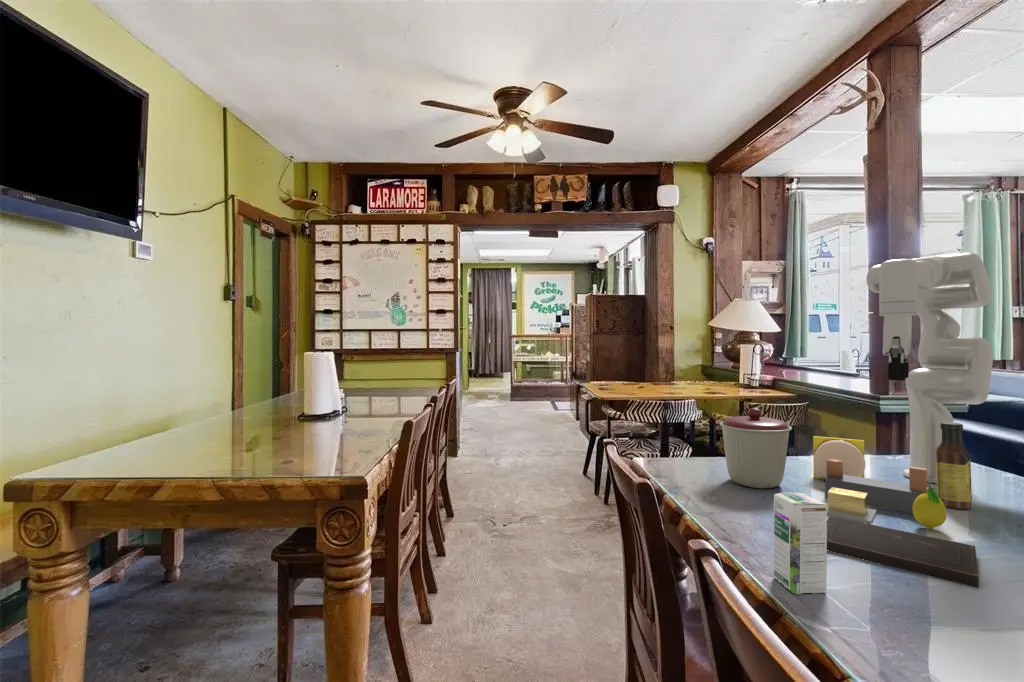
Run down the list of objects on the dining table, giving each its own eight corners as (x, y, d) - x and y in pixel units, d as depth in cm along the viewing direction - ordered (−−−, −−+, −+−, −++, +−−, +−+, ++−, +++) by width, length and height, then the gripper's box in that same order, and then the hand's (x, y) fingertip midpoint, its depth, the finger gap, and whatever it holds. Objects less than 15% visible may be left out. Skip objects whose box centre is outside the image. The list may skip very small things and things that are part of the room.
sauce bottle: (978, 511, 113) (978, 426, 113) (947, 509, 114) (947, 425, 114) (959, 502, 119) (958, 421, 119) (929, 500, 121) (929, 420, 121)
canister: (793, 480, 139) (793, 406, 139) (790, 497, 124) (790, 415, 123) (725, 471, 148) (725, 402, 148) (714, 486, 133) (714, 409, 133)
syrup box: (771, 577, 83) (771, 492, 83) (804, 576, 83) (804, 491, 83) (793, 595, 77) (793, 504, 77) (829, 593, 78) (828, 502, 77)
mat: (826, 502, 120) (826, 499, 120) (877, 511, 113) (877, 509, 113) (817, 513, 113) (817, 510, 113) (871, 524, 106) (871, 521, 106)
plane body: (829, 491, 129) (829, 453, 129) (930, 509, 115) (930, 466, 115) (823, 497, 124) (823, 458, 123) (928, 517, 110) (928, 472, 110)
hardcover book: (829, 526, 106) (829, 516, 106) (975, 558, 91) (975, 545, 91) (814, 550, 94) (814, 538, 94) (978, 591, 79) (978, 577, 79)
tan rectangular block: (832, 503, 117) (831, 487, 117) (867, 510, 113) (867, 493, 112) (827, 509, 114) (827, 491, 114) (864, 516, 109) (864, 498, 109)
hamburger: (813, 482, 136) (813, 439, 136) (813, 475, 144) (813, 434, 143) (866, 489, 130) (866, 444, 130) (863, 481, 137) (863, 438, 137)
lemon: (939, 537, 99) (939, 488, 99) (905, 527, 104) (905, 480, 104) (955, 531, 102) (955, 483, 102) (921, 521, 107) (921, 476, 107)
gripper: (883, 311, 129) (883, 376, 129) (874, 309, 117) (875, 380, 117) (920, 310, 124) (920, 377, 124) (915, 307, 112) (915, 382, 112)
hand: (898, 378), depth 121 cm, fingers open, 9 cm apart
